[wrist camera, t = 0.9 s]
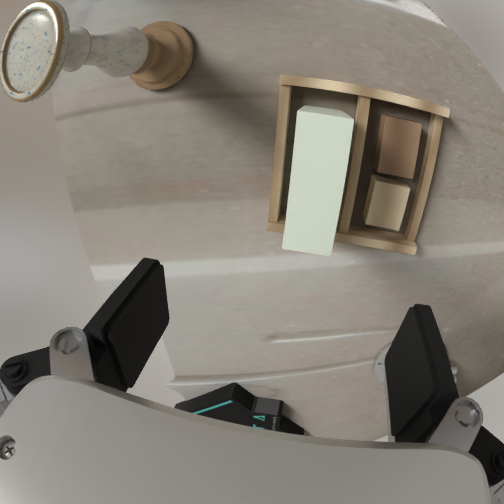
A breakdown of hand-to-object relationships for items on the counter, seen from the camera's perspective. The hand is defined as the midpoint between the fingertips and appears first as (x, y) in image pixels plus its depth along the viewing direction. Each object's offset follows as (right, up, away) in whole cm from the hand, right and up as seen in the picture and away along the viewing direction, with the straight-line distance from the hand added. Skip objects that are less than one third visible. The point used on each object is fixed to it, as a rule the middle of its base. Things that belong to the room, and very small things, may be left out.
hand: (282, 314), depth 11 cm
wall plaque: (-4, -35, +52) cm, 63 cm away
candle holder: (-12, +25, +19) cm, 34 cm away
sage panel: (+6, +13, +21) cm, 26 cm away
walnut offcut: (+14, +14, +19) cm, 28 cm away
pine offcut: (+14, +9, +22) cm, 27 cm away
